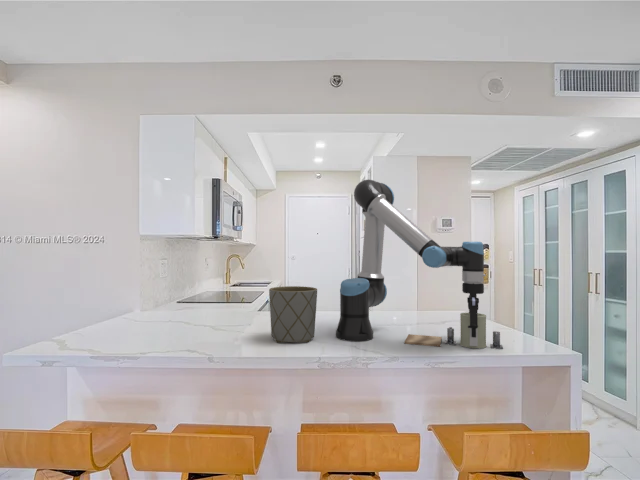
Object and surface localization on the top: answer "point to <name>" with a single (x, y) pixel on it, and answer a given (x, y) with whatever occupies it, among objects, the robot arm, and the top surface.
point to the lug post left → (450, 336)
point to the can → (466, 331)
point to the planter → (293, 313)
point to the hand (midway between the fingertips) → (473, 342)
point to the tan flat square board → (423, 340)
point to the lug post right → (496, 341)
